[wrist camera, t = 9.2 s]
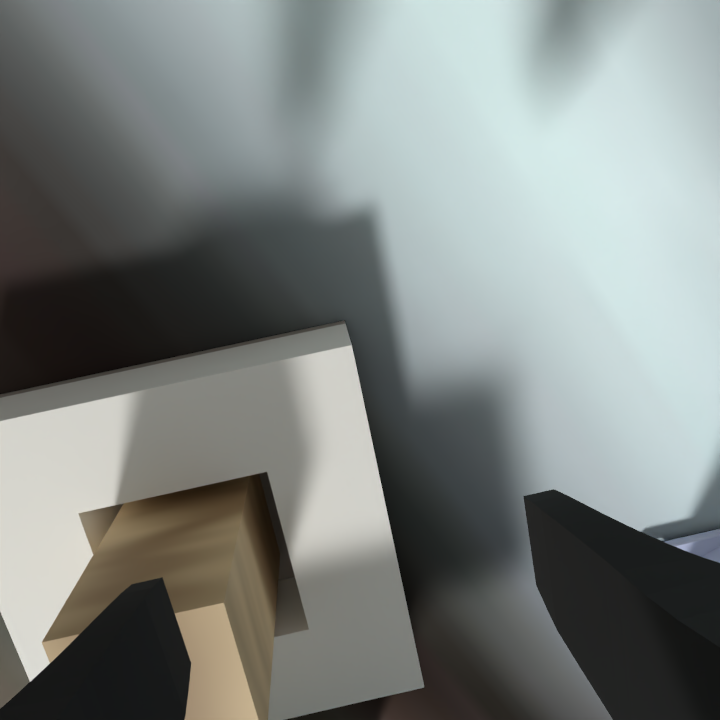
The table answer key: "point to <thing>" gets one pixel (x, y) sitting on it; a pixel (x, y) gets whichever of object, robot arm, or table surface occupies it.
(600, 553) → the robot arm
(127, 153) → the table surface
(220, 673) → the oak peg
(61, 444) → the socket block
